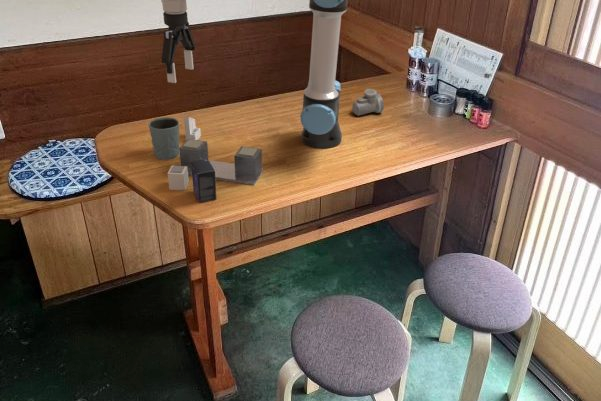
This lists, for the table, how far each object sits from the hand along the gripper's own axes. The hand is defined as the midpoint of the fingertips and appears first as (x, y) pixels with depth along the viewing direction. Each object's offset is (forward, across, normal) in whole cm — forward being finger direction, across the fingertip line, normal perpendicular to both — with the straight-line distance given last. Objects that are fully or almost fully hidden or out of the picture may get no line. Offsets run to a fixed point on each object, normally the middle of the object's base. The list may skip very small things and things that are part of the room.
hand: (181, 75), depth 189 cm
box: (+26, +30, +20) cm, 45 cm away
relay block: (+26, +28, +10) cm, 39 cm away
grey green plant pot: (+26, +9, -4) cm, 28 cm away
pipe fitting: (+26, -49, +58) cm, 80 cm away
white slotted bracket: (+26, -5, 0) cm, 27 cm away
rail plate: (+26, +15, +20) cm, 36 cm away
